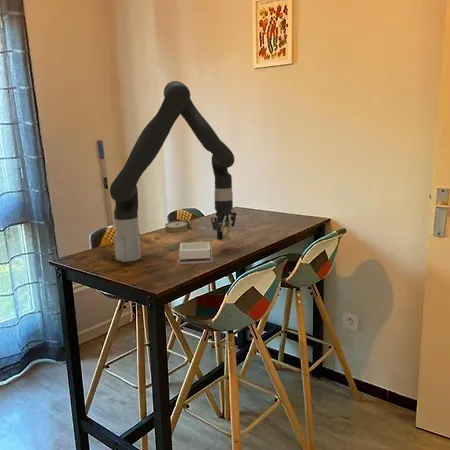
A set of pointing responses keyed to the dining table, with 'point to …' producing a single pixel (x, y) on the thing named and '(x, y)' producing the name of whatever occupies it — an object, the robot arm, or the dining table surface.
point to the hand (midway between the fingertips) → (224, 238)
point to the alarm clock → (177, 226)
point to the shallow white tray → (194, 250)
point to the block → (226, 233)
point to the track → (198, 260)
